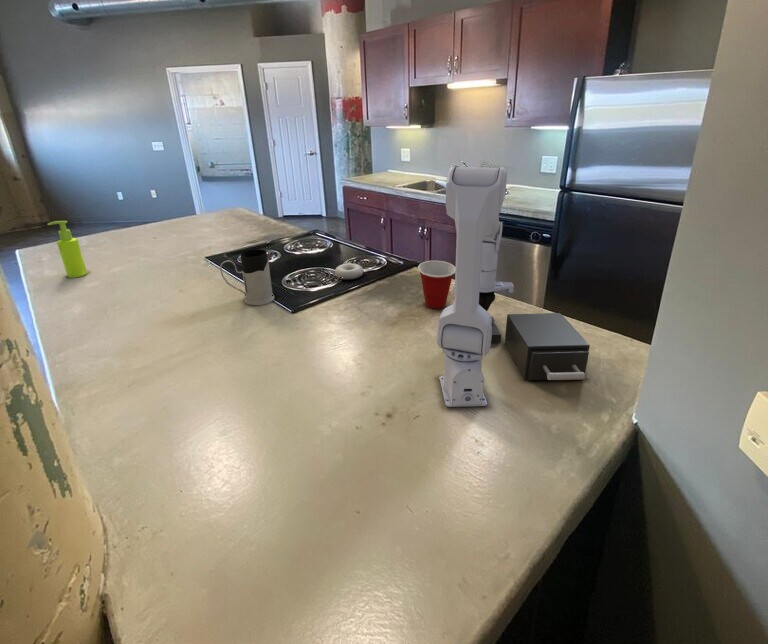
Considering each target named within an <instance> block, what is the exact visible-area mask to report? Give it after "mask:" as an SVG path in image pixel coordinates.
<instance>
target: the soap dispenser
mask: <svg viewBox="0 0 768 644" xmlns="http://www.w3.org/2000/svg"><path fill="white" fill-rule="evenodd" d="M66 224H68V220H55V221H51V222H48V223H47V226H52V225H59V228H60V230H58V235H59V240H56V243H57V248H58V250H59V253H60V257H61V260H62V263H63V266H64V269H65V272H66V276H67V278H70V279H72V278H80V277H83V276H85V275H87V274H88V271H87V268H86V263H85V260H84V256H83V254H82V250H81V247H80V244H79V241H78V238H77V237H73V235H72V232H71V229H69V228H67V225H66Z"/></svg>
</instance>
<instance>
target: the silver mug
mask: <svg viewBox="0 0 768 644" xmlns="http://www.w3.org/2000/svg"><path fill="white" fill-rule="evenodd" d="M267 252H268V251H267V250H265V249H261V248H255V249H248V250H245V251H242V252H240V254H239V255H240V262H241V268H242V270H241V271H238V268H237V265H236V263H235V262H234V261H232V260H229V259H227V260H224V261H222V262H221V263H220V266H219V270H220V274H221V277H222V279H223V280H224V281H225V283H226V284H227V285H228V286H229V287H231V288H233V289H235V290H236V291H239V292H240V293H242V294H244V297H245V300H244V303H246V304H247V305H248V306H262V305H266V304H269V303H271V302H273V301H274V300H275V298H276V297H275V295H274V293H273V287H272V279H271V271H270V270H271V269H270V263H269V258H268V253H267ZM225 263H231V264H233V266H234V269H235V272H236V273H237V274H242V280H243V285H244V286H243V287H244V290H242V289H241V288H238V287H236V286H234V285H233V284H231V283H230V282H229V281H228V280H227V279H226V278H225V276H224V274H223V270H222V267H223V265H224V264H225ZM272 295H273V296H272Z"/></svg>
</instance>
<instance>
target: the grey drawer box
mask: <svg viewBox="0 0 768 644" xmlns="http://www.w3.org/2000/svg"><path fill="white" fill-rule="evenodd" d="M504 335H505V336H504V346H505V348H506V350H507V352H508V353H509V355H510V357H511V358H512V359H511V360H512V361H513V362H514V364H515V366H516V367H517V369H518V372H519V373H520V375H521V377H522V378H523V380H524V381H530V380H529V378H528V369H529V361H530V353H531V350H540V349H587V350H588V352H589V353H590V346H591V345H590V344H589V342H588V341H586V339H585V338H584V337H583V336H582V335H581V333H579V331H578V330H576V329H575V327H574V326H573V325H572V323H570V322H569V320H568V319H566V317H565V316H564V315H563V314H562V313H561V312H549V313H548V312H545V313H544V312H543V313H508V314H507V315H506V324H505V334H504ZM540 380H541V381H542V380H544V379H539V380H538V381H540Z"/></svg>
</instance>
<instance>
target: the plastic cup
mask: <svg viewBox="0 0 768 644" xmlns="http://www.w3.org/2000/svg"><path fill="white" fill-rule="evenodd" d="M417 270H418V272H419V275H420V279H421V285H422V292H423V297H424V302H425V306H426V307H428V308H430V309H434V310H438V309H443V308H444V307H445V308H446V304H447V301H448V297H449V294H450V289H451V284H452V280H453V277H454V275H455V270H456V265H454V264H452V263H450V262H447V261H444V260H426V261H423V262H421V263H419V264H418V265H417Z"/></svg>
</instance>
